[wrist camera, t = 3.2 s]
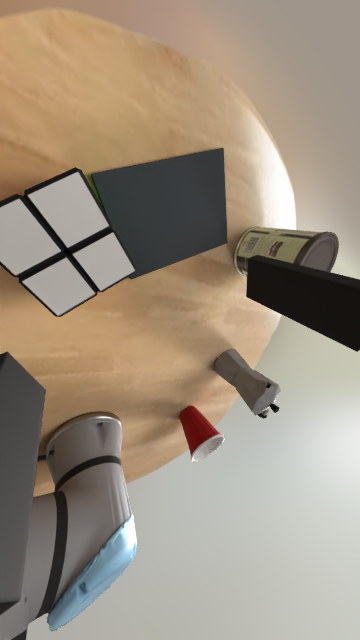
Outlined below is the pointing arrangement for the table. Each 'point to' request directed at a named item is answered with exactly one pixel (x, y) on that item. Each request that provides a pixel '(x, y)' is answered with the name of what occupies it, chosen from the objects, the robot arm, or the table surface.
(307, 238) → the coffee can
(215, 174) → the placemat
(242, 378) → the coffeepot
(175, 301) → the table surface
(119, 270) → the puzzle cube
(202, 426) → the plastic cup
